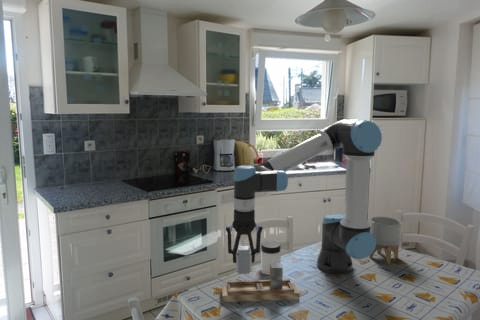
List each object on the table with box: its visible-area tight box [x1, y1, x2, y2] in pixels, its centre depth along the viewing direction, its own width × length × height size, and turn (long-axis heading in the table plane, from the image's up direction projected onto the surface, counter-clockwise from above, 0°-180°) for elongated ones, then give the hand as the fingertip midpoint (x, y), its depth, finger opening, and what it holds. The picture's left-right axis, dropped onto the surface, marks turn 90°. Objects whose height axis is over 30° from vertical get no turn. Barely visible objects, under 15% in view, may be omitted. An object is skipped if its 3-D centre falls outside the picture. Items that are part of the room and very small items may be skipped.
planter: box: [368, 216, 402, 264], centre depth 170 cm, size 13×13×18 cm
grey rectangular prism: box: [237, 245, 251, 275], centre depth 134 cm, size 4×4×9 cm
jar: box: [260, 240, 282, 276], centre depth 156 cm, size 9×8×12 cm
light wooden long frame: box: [221, 263, 301, 303], centre depth 136 cm, size 28×8×12 cm, turn 94°
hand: (243, 270), depth 135 cm, fingers closed on grey rectangular prism, 4 cm apart
